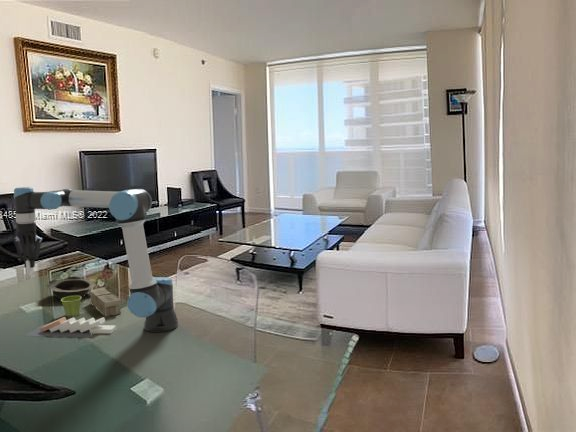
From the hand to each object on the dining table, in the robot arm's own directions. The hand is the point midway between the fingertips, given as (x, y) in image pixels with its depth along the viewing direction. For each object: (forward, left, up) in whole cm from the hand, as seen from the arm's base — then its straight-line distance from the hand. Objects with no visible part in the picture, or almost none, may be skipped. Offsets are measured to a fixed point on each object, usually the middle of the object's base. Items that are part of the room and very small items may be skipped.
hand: (30, 274), depth 210 cm
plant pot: (+5, -22, -27) cm, 35 cm away
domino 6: (-23, -13, -25) cm, 37 cm away
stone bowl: (+35, -41, -27) cm, 60 cm away
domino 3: (-11, -7, -25) cm, 28 cm away
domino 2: (-7, -4, -25) cm, 27 cm away
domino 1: (-4, -2, -25) cm, 25 cm away
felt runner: (-13, -7, -26) cm, 30 cm away
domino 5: (-19, -11, -25) cm, 34 cm away
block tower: (0, -37, -27) cm, 46 cm away
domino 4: (-15, -9, -25) cm, 31 cm away
